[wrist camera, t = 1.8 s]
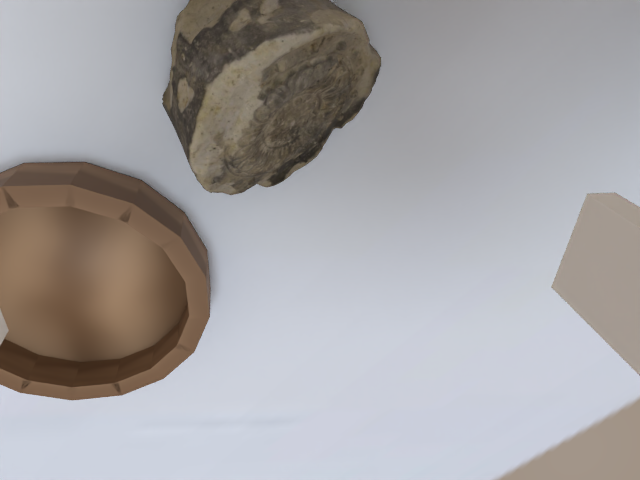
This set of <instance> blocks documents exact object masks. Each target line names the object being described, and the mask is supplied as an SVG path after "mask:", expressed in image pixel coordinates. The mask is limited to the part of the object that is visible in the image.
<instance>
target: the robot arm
mask: <svg viewBox="0 0 640 480" xmlns="http://www.w3.org/2000/svg"><path fill="white" fill-rule="evenodd" d="M552 288H553V289H554V290H555V291H556V292H557V293H558V294H559V295H560V296H561V297H562V298H563V299H564V300H565V301H566V302H567V303H568V304H569V305H570V306H571V307H572V308H573V309H574V310H575V311H576V312H577V313H578V314H579V315H580V316H581V317H582V318H583V319H584V320H585V321H586V322H587V323H588V324H589V325H590V326H591V327H592V328H593V329H594V330H595V331H596V332H597V333H598V334H599V335H600V336H601V337H602V338H603V339H604V340H605V341H606V342H607V343H608V344H609V345H610V346H611V347H612V348H613V349H614V350H615V351H616V352H617V353H618V354H619V355H620V356H621V357H622V358H623V359H624V360H625V361H626V362H627V363H628V364H629V365H630V366H631V367H632V368H633V369H634V370H635V371H636V372H637V373H638V374H639V375H640V207H638V206H637V205H635V204H633V203H632V202H630V201H628V200H627V199H625V198H623V197H622V196H620V195H618V194H617V193H593V194H587V196H586V198H585V201H584V204H583V206H582V209H581V211H580V214H579V217H578V219H577V222H576V224H575V227H574V230H573V232H572V235H571V237H570V240H569V243H568V245H567V248H566V251H565V253H564V256H563V258H562V261H561V264H560V266H559V269H558V271H557V274H556V277H555V279H554V282H553V284H552ZM8 331H9V330H8V328H7V325H6V322H5V320H4V317H3V315H2V312H1V310H0V345H1V343H2V342H3V340H4V338H5V336H6V334H7V333H8Z"/></svg>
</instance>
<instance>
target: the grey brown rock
mask: <svg viewBox="0 0 640 480" xmlns="http://www.w3.org/2000/svg"><path fill="white" fill-rule="evenodd" d="M171 54H172V66H171V71H170V81H169V84H168V87H167V89H166V91H165V92H164V94H163V99H162V100H163V103H162V104H163V106H164V108H165V110H166V112H167V114H168V116H169V118H170V120H171V122H172V124H173V126H174V128H175V130H176V133H177V135H178V137H179V139H180V142H181V144H182V146H183V149H184V152H185V154H186V157H187V159H188V162H189V164H190V167H191V169H192V171H193V172H194V174H195V176H196V178H197V180H198V181H199V182H200V183H201V185H202V186H203V188H204V189H206V190H207V191H209V192H210V193H212V192H215V193H220V192H223V193H226V194H229V195H233V194H238V193H242V192H244V191H246V190H247V189H249V188H251V187H252V186H254V185H256V184H259V185H261V186H264V187H270V186H274V185H276V184H278V183H280V182H282V181H284V180H285V179H286V178H288V177H289V176H290V175H291V174H292V173H293V172H294V171H296V170H298V169H300V168H301V167H303V166H305V165H306V164H308V163H309V162H310V161H312V160H313V159H314V158H316V157H317V155H318V154H319V152H320V151H321V150H322V148H323V145H324V144H325V143H326V141H327V139H328V137H329V136H330V134H331V132H332V131H333V129H335V128H342V127H343V126H344V125H345V124H346V123H348V122H349V121H351V120H353V118H354V117H355V116H356V115H357V114H358V112H359V111H360V109H361V108H362V106H363V104H364V101H365V100H366V99H367V97H368V96H369V95H370V93H371V91H372V87H373V85H374V84H375V82H376V78H377V76H378V74H379V69H380V67H381V57H380V56H379V54H378V53H377V51H376V50H375V49H374V48H373V47H372V46H371V45H370V44H369V38H368V36H367V33H366V30H365V27H364V24H363V23H362V21H360V20H359V19H357V18H356V17H354V16H352V15H350V14H348V13H347V12H345V11H343V10H342V9H340V8H339V7H337V6H336V5H335V4H333V3H332V2H331V1H330V0H190V1H189V3H188V5H187V6H186V8H185V9H184V10H183V11H181V12H180V13H179V15H178V16H177V20H176V24H175V34H174V38H173V42H172V47H171Z"/></svg>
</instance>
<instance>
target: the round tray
mask: <svg viewBox="0 0 640 480" xmlns="http://www.w3.org/2000/svg"><path fill="white" fill-rule="evenodd" d="M0 310H1V312H2V315H3V317H4V320H5V322H6V325H7V328H8V330H9V331H8V333H7V334H6V336H5V338H4V340H3V342H2V343H1V345H0V384H1V385H3V386H5V387H8V388H10V389H13V390H15V391H17V392H20V393H26V394H33V395H39V396H46V397H53V398H60V399H67V400H80V399H90V398H100V397H109V396H119V395H124V394H126V393H129V392H131V391H134V390H136V389H139V388H141V387H144V386H146V385H149V384H151V383H154V382H156V381H159V380H161V379H164V378H165V377H166V376H167V375H168V374H169V373H171V372H172V371H173V370H174V369H175V368H176V367H178V366H179V365H180V364H181V363H182V362H183V361H184V360H186V359H187V358H188V357H189V356H190V355H191V354H192V353H194V351H195V349H196V347H197V344H198V342H199V340H200V338H201V335H202V333H203V331H204V329H205V326H206V324H207V322H208V320H209V317H210V278H209V266H208V255H207V249H206V248H205V246H204V244H203V243H202V241H201V239H200V238H199V236H198V234H197V233H196V231H195V229H194V228H193V226H192V224H191V223H190V221H189V220H188V218H187V216H186V215H185V213H184V212H183V211H182V210H181V209H179V208H178V207H177V206H175V205H174V204H172V203H171V202H170V201H168V200H167V199H166V198H164V197H163V196H162V195H160V194H159V193H158V192H156V191H155V190H154V189H152V188H151V187H150V186H148V185H147V184H146V183H144V182H143V181H142V180H139V179H136V178H133V177H130V176H127V175H123V174H120V173H117V172H114V171H111V170H108V169H105V168H102V167H98V166H95V165H92V164H89V163H86V162H60V163H23V164H21V165H18V166H16V167H13V168H11V169H9V170H6V171H4V172H1V173H0Z"/></svg>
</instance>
